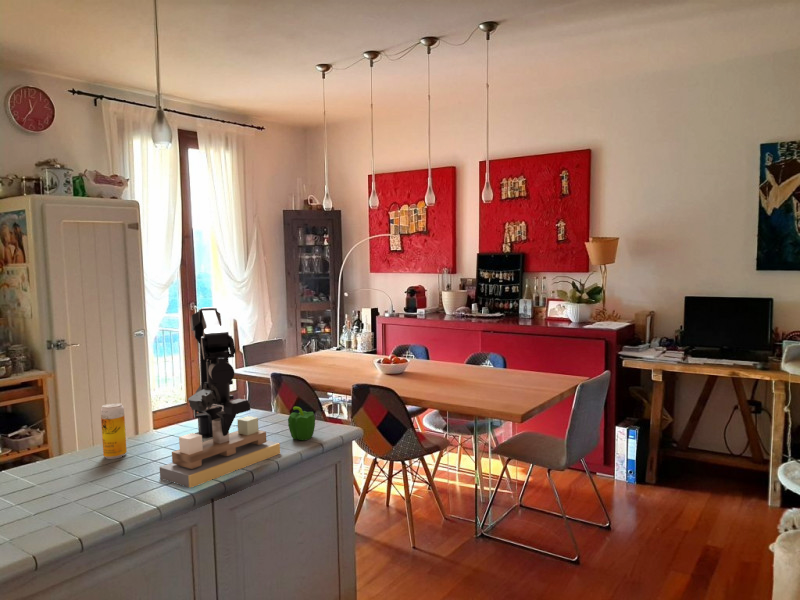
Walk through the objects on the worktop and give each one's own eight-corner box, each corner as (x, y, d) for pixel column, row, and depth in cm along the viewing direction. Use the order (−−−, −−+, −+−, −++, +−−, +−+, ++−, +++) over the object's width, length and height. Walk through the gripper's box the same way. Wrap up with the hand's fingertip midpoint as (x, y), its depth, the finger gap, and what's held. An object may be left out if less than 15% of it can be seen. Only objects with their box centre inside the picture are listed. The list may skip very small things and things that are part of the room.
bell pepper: (321, 436, 188) (320, 404, 187) (305, 443, 181) (304, 411, 180) (300, 433, 192) (298, 402, 191) (283, 440, 185) (282, 408, 184)
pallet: (172, 463, 156) (170, 429, 155) (247, 437, 176) (246, 407, 175) (191, 468, 151) (189, 433, 150) (266, 442, 171) (265, 411, 171)
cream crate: (179, 452, 155) (178, 436, 155) (193, 447, 158) (192, 432, 158) (189, 454, 153) (188, 439, 152) (202, 450, 156) (201, 435, 156)
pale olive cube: (238, 433, 171) (237, 419, 170) (249, 429, 174) (248, 415, 174) (247, 435, 168) (247, 421, 168) (258, 431, 172) (258, 417, 171)
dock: (160, 478, 155) (159, 467, 155) (250, 446, 179) (249, 436, 179) (190, 488, 148) (189, 476, 147) (280, 453, 172) (279, 443, 172)
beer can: (98, 458, 173) (95, 406, 171) (115, 451, 178) (112, 401, 177) (114, 460, 170) (111, 408, 169) (131, 453, 176) (128, 403, 175)
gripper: (170, 379, 161) (174, 437, 162) (216, 387, 150) (219, 448, 151) (205, 372, 170) (208, 426, 171) (250, 379, 159) (253, 436, 160)
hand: (221, 434), depth 163 cm, fingers closed on pallet, 3 cm apart
